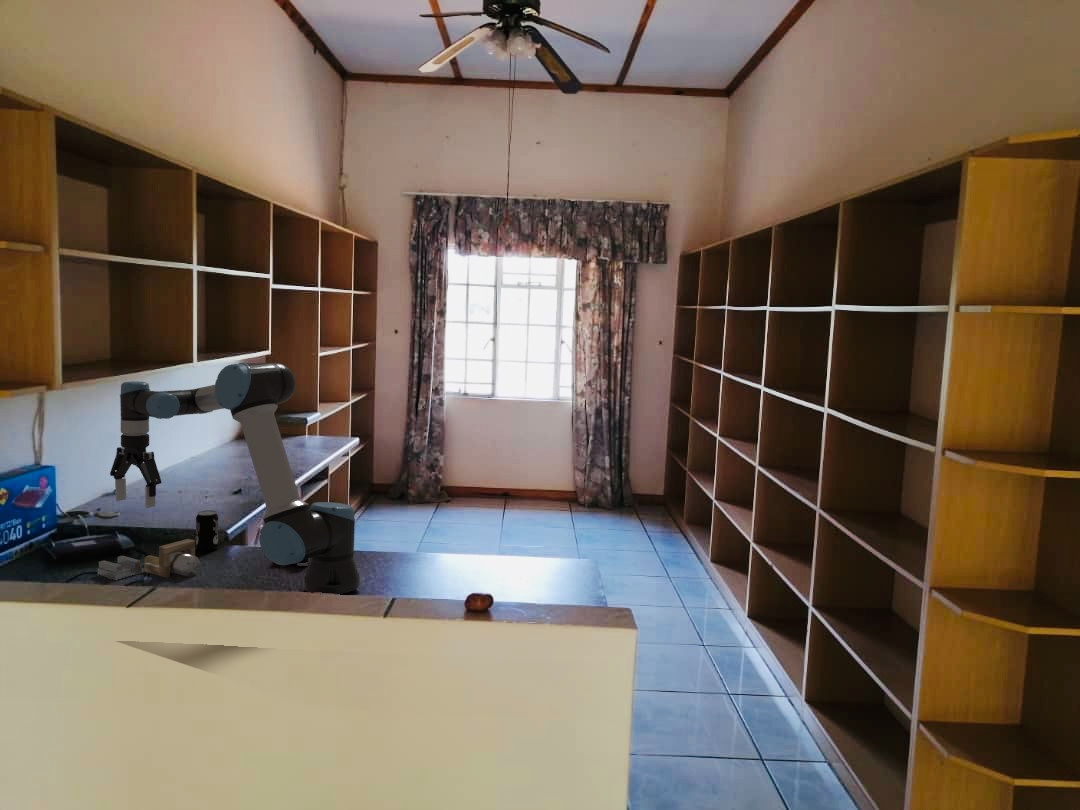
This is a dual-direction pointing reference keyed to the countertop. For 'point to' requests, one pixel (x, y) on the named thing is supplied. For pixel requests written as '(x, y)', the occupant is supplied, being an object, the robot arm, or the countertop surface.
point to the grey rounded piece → (184, 564)
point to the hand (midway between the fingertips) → (135, 503)
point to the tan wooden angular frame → (164, 557)
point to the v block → (120, 568)
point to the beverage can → (207, 530)
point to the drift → (151, 560)
